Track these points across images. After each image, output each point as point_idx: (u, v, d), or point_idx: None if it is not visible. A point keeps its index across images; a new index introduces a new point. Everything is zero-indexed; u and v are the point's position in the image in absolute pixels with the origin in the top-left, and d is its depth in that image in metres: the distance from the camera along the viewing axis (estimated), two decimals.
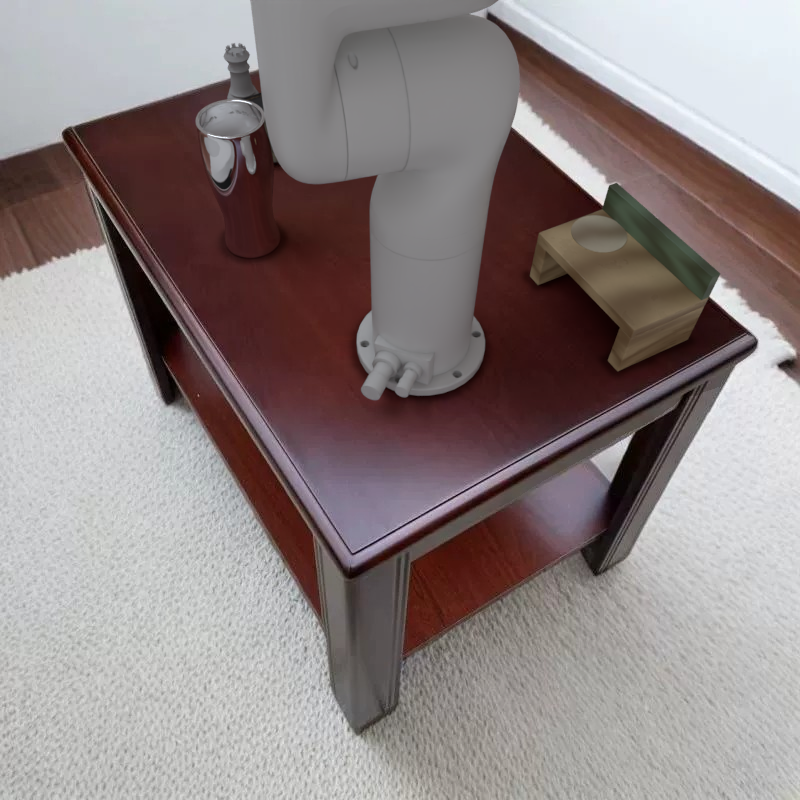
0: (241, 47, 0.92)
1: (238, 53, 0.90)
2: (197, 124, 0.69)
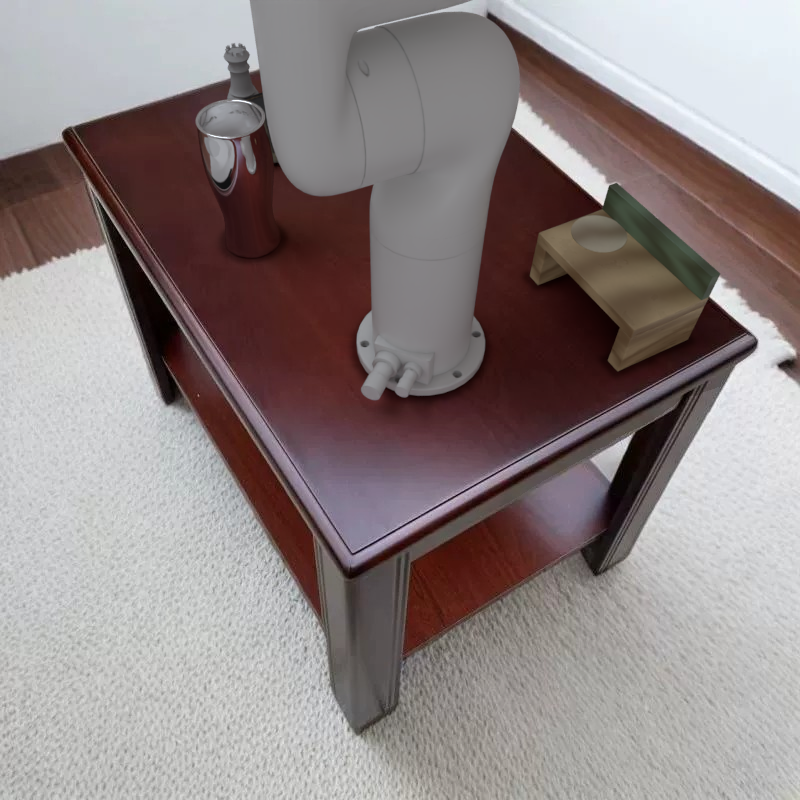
0: (241, 47, 0.92)
1: (238, 53, 0.90)
2: (197, 124, 0.69)
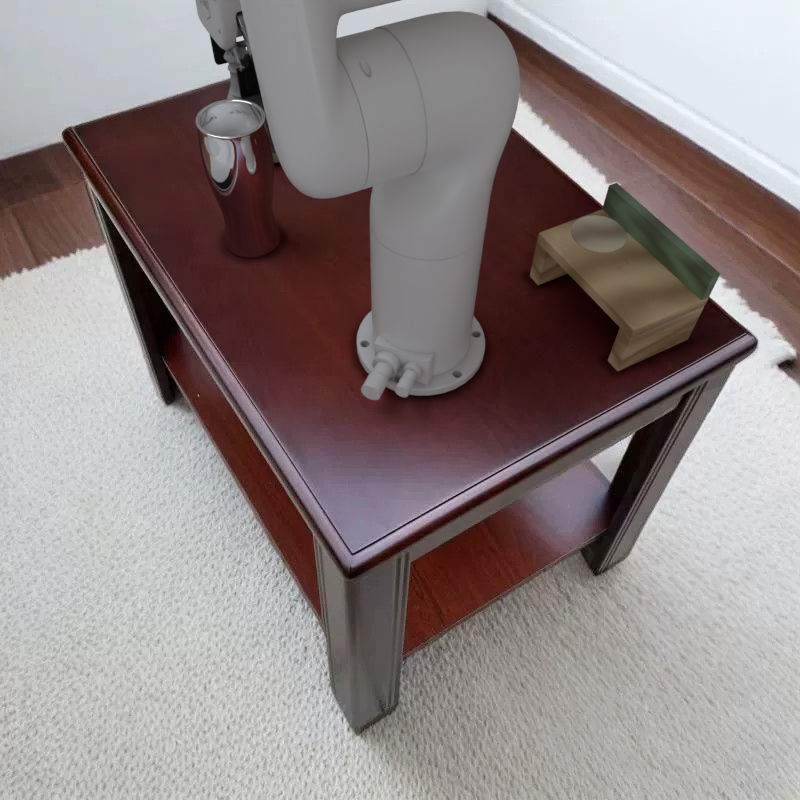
0: None
1: None
2: (197, 124, 0.69)
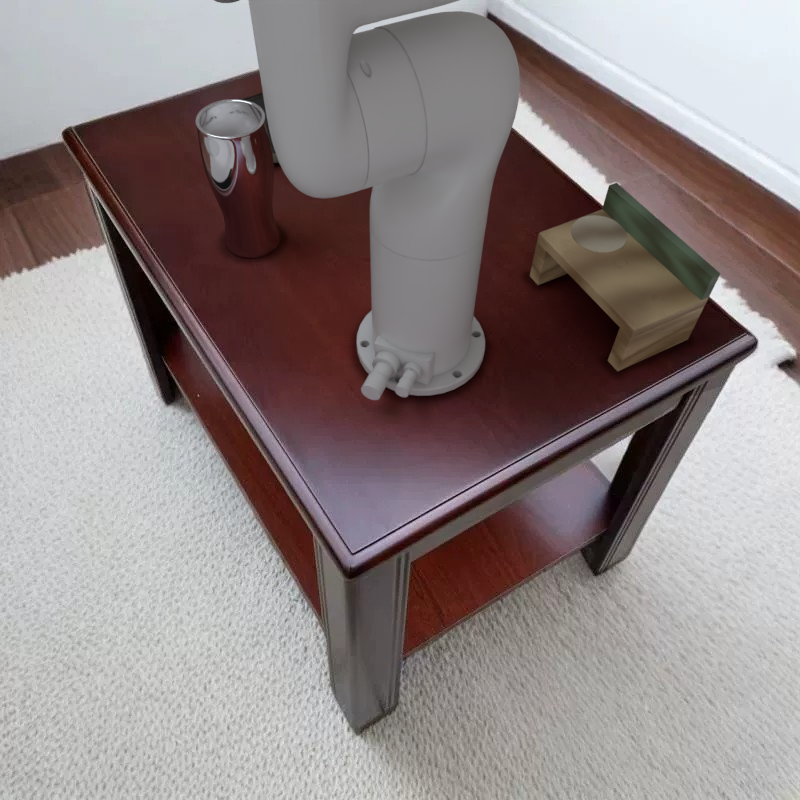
0: None
1: None
2: (197, 124, 0.69)
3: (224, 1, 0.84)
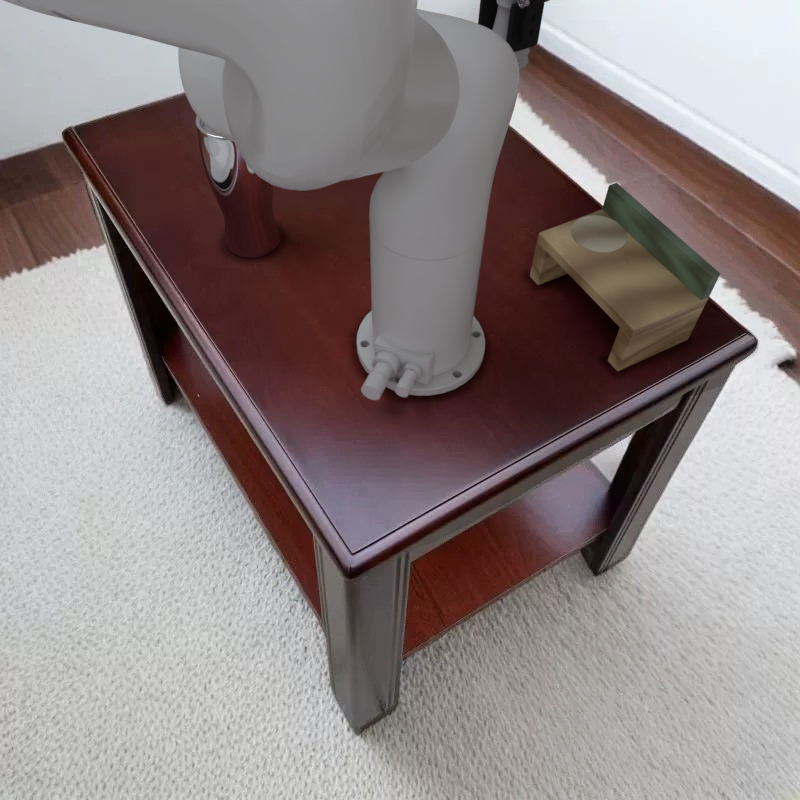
0: None
1: None
2: (197, 124, 0.69)
3: None
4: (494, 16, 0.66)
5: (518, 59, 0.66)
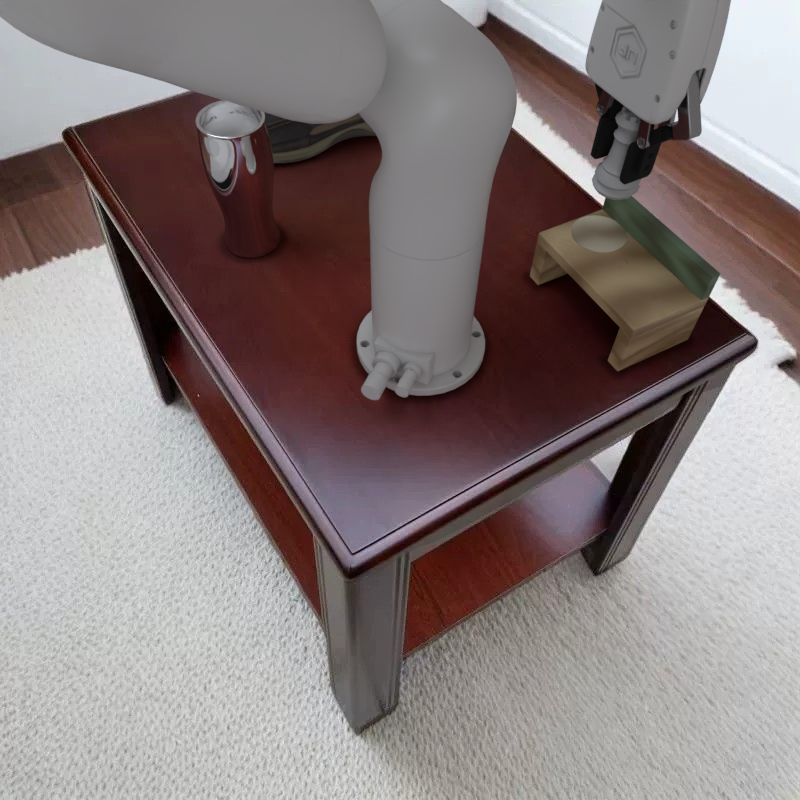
0: None
1: None
2: (197, 124, 0.69)
3: (617, 198, 0.68)
4: (608, 145, 0.67)
5: (631, 188, 0.67)
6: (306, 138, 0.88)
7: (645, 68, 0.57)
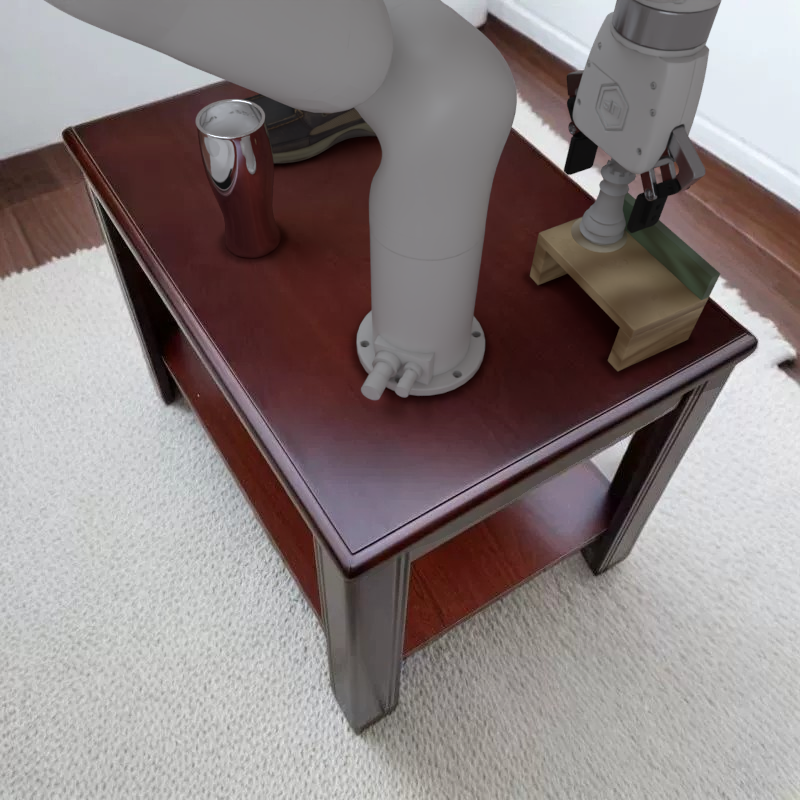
0: None
1: (628, 172, 0.67)
2: (197, 124, 0.69)
3: (603, 244, 0.72)
4: (580, 162, 0.71)
5: (615, 234, 0.72)
6: (306, 138, 0.88)
7: (628, 123, 0.60)
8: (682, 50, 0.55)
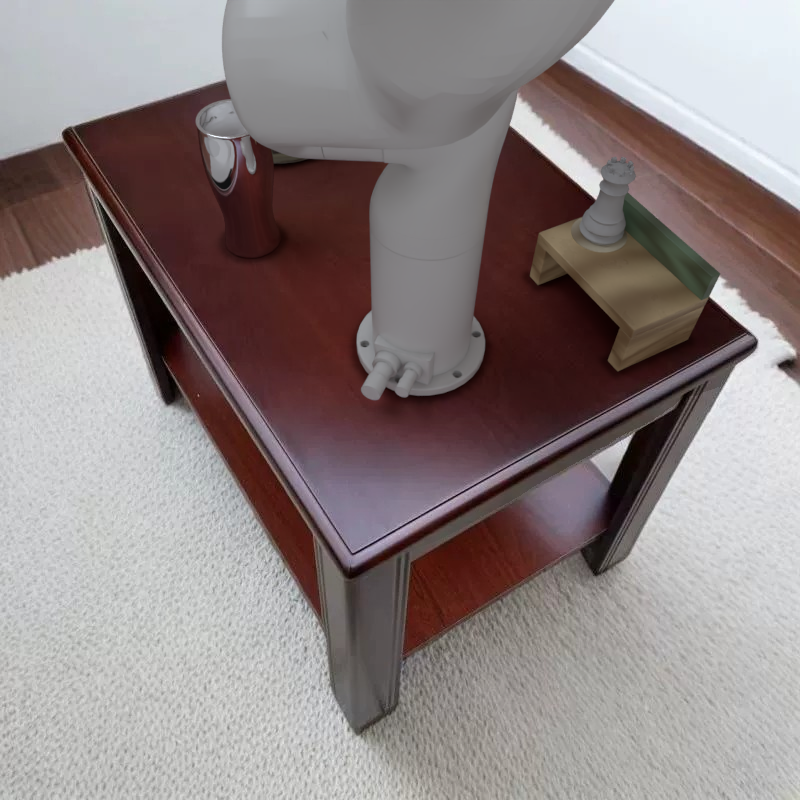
0: (624, 162, 0.68)
1: (628, 172, 0.67)
2: (197, 124, 0.69)
3: (603, 244, 0.72)
4: None
5: (615, 234, 0.72)
6: None
7: None
8: None
